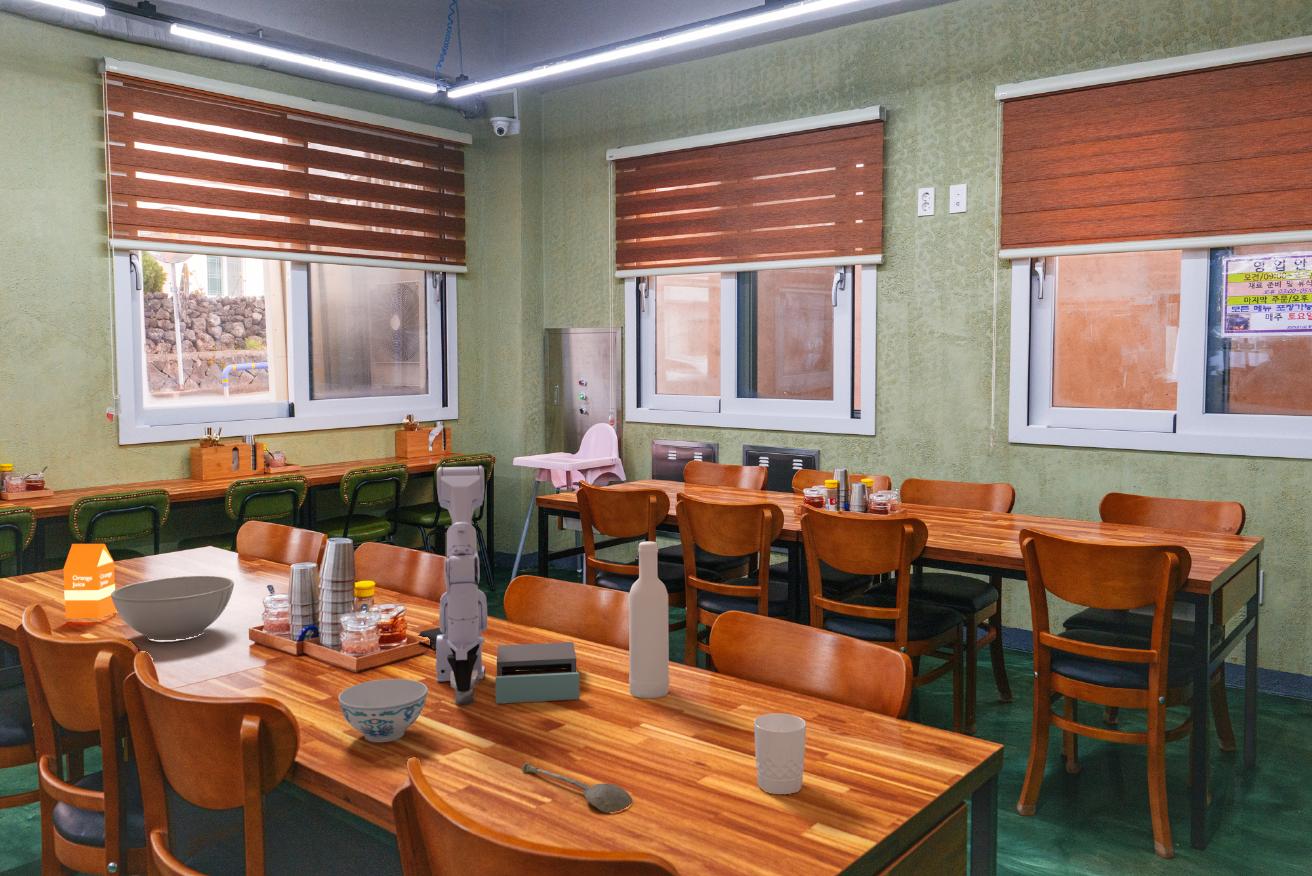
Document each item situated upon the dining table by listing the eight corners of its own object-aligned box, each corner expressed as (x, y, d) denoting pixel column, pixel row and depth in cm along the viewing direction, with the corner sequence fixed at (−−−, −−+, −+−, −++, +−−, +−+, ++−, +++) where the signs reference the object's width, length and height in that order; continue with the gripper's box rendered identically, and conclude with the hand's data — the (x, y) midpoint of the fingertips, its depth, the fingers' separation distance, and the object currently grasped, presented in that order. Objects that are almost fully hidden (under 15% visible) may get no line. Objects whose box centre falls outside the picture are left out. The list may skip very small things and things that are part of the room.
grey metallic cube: (454, 706, 182) (454, 688, 182) (456, 699, 186) (455, 682, 186) (473, 704, 183) (473, 687, 183) (474, 698, 186) (474, 681, 186)
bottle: (677, 691, 189) (676, 542, 187) (650, 702, 184) (649, 547, 182) (648, 683, 195) (647, 537, 193) (620, 692, 189) (619, 543, 187)
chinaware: (444, 725, 172) (443, 683, 172) (396, 756, 158) (395, 711, 158) (374, 716, 177) (373, 675, 177) (321, 745, 163) (319, 701, 163)
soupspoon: (610, 826, 136) (641, 812, 140) (611, 803, 135) (642, 790, 140) (510, 778, 150) (541, 767, 155) (510, 757, 150) (542, 747, 155)
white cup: (749, 776, 149) (749, 714, 149) (799, 774, 150) (799, 712, 149) (759, 798, 142) (759, 732, 141) (811, 796, 142) (811, 730, 142)
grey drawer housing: (497, 688, 192) (496, 662, 192) (498, 670, 204) (498, 645, 204) (576, 684, 194) (576, 658, 194) (573, 667, 206) (573, 642, 206)
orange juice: (99, 623, 246) (95, 546, 245) (65, 623, 246) (61, 546, 245) (116, 615, 254) (113, 541, 253) (83, 615, 254) (80, 541, 253)
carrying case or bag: (410, 644, 226) (442, 657, 215) (409, 631, 226) (442, 644, 215) (449, 635, 233) (482, 648, 222) (449, 623, 233) (482, 635, 222)
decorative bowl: (258, 630, 238) (256, 583, 237) (152, 658, 215) (150, 605, 214) (195, 617, 252) (193, 571, 251) (90, 641, 229) (88, 591, 229)
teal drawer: (495, 703, 183) (495, 678, 183) (497, 683, 195) (497, 659, 194) (579, 699, 185) (579, 673, 185) (575, 679, 197) (575, 656, 196)
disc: (449, 689, 181) (449, 677, 181) (451, 680, 186) (451, 668, 186) (477, 688, 182) (477, 675, 182) (478, 679, 187) (478, 667, 187)
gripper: (482, 625, 177) (484, 697, 177) (485, 606, 191) (486, 673, 192) (443, 627, 176) (445, 699, 176) (449, 608, 190) (451, 675, 191)
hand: (464, 686), depth 184 cm, fingers closed on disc, 5 cm apart
